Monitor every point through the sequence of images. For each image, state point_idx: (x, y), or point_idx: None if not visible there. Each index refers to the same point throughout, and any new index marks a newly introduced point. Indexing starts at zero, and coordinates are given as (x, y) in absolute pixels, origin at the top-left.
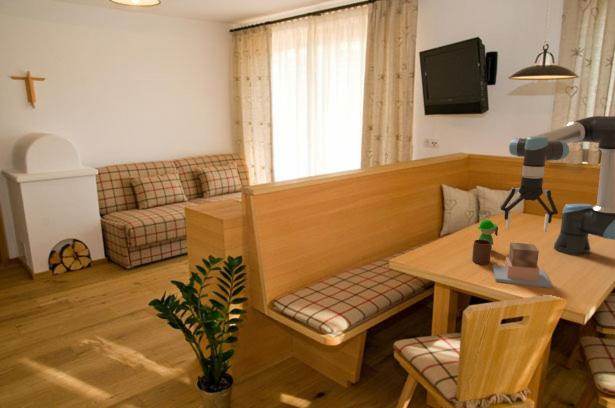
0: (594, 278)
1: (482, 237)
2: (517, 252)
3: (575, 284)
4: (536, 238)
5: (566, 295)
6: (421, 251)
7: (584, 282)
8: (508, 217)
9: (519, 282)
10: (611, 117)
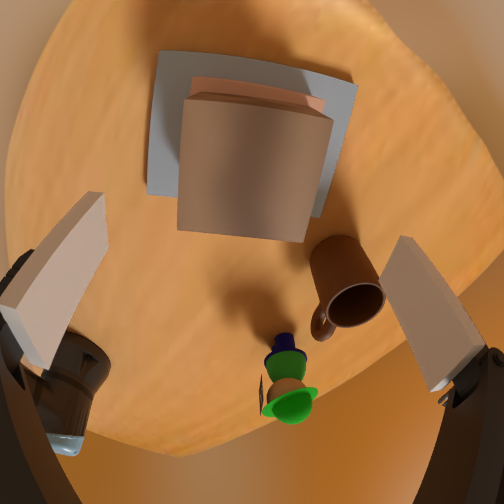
0: (28, 187)
1: (302, 369)
2: (306, 111)
3: (76, 115)
4: (143, 399)
5: (134, 6)
6: None
7: (51, 144)
8: (458, 304)
9: (274, 63)
10: None
